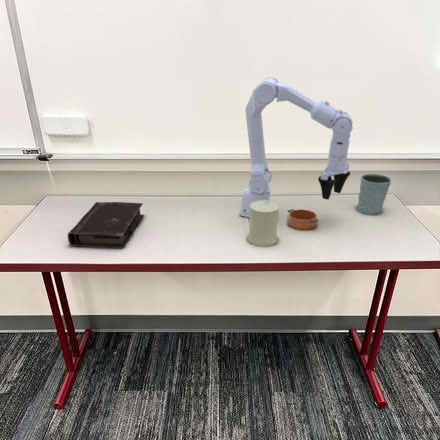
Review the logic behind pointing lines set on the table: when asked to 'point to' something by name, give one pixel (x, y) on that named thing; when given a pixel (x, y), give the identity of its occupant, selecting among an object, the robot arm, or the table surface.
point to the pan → (302, 219)
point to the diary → (106, 225)
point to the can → (263, 223)
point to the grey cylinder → (372, 193)
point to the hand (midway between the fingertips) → (331, 195)
